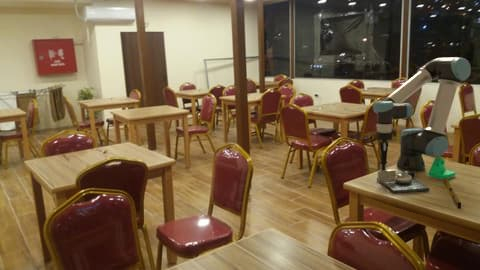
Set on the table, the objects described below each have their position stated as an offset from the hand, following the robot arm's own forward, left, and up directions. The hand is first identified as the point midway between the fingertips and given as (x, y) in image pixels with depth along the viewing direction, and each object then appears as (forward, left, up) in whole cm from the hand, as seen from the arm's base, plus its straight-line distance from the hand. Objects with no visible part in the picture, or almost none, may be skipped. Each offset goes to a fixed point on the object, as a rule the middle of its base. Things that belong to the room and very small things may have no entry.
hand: (382, 175), depth 206 cm
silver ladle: (-3, +6, -1) cm, 7 cm away
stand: (-7, +7, -4) cm, 11 cm away
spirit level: (-24, +23, -5) cm, 33 cm away
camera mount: (-34, -2, -4) cm, 34 cm away
